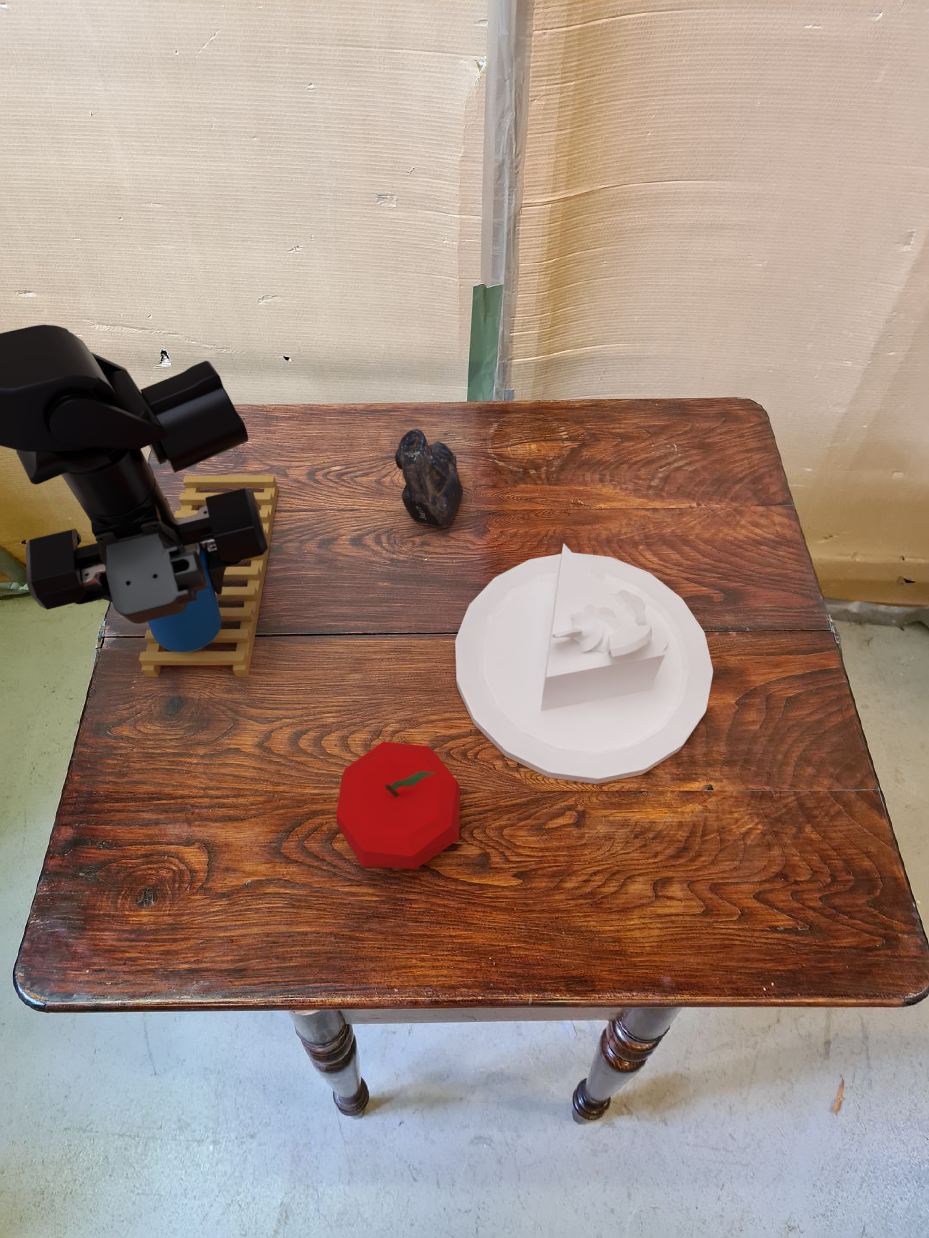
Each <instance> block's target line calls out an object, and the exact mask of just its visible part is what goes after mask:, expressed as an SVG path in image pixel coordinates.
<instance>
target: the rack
mask: <svg viewBox="0 0 929 1238" xmlns="http://www.w3.org/2000/svg"><path fill="white" fill-rule="evenodd" d="M182 483H183V485H184V487H185V490H184V492H180V493H179V498H178V501H179V503H180V510H179V509H175V513H174V517H175V519H180V518H184V517H188V516H192V515H196V514H197V512H198V510H199V509H198V507H199V506H207V504H206V499H205V497H208V496H213V495H217V494H221V493H222V492H202V489H218V488H219V489H221V488H222V489H226V488H227V489H229V488H230V489H233V488H237V489H242V488H247V489H248V488H249V489H250V488H253V489H254V488H256V489H257V488H263V491H261V492H260V491H259V492H258V491H257V492H253V491H252V492H253V493H254V496H255V498H256V501H257V504H258V506H260V509H259V512H260V516H261V521H262V525H263V529H264V533H265V537H266V541H267V545H268V549H267V550H266V552H265V553H264V554H263V555H261V556H257V557H253V558H249V559H245V560H244V561H251V563H250V566H230V567H226V570H225V572H224V578H223V581H247V586H223V587H222V594H220V595H217V594H216V598H217V601H244V603H243V607H219V611H220V615H221V622H240V624H239V625H240V626H239V628H236V629H235V628H231V629H229V628H227V629H226V628H224V629H222V628H220V630H219V632H218V634H217V636H216V637H215V638H214V639H213V640H212V641H211V642H210V643H212V644H214V643H219V644H220V643H223V644H225V643H226V644H228V643H230V644H231V643H236V648H235V651H191V652H175V651H166V648H164V647H162V646H161V645H160V644H159V643H158V642H157V641H156V640H155V639H154V637H153V635H152V632H151V629H146V631H145V635H144V639H145V641H146V642H147V646H146V648H145V649H146V650H145V651H140V655H139V658H138V661H139V663H140V664H141V672H142V673H143V674H144V675H145V677H146V678H159V677H160V674H161V673H160V672H161V669H162V666H232V671H233V673H234V676H235V677H236V678H249V677H250V671H251V664H252V658H253V652H254V645H255V639H256V632H257V627H258V621H259V615H260V607H261V602H262V597H263V589H264V583H265V578H266V571H267V565H268V559H269V554H270V552H269V551H270V547H271V542H272V541H271V540H272V533H273V530H274V529H273V528H274V522H275V515H276V511H277V504H278V497H279V491H280V490H279V486H278V483H277V480H276V476H275V475H274V474H271V475H270V474H265V475H264V474H263V475H262V474H259V475H258V474H256V475H255V474H252V475H250V474H242V475H239V474H238V475H237V474H236V475H228V474H227V475H225V474H224V475H184V478H183V481H182ZM215 593H216V592H215ZM210 643H209V644H210Z"/></svg>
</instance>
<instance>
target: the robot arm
mask: <svg viewBox="0 0 929 1238" xmlns="http://www.w3.org/2000/svg"><path fill="white" fill-rule="evenodd" d="M246 427H247V426H246V424H245V422H244V420H243V419H242V417H241V416H240V414H239V413H238V412H237V409H236V408H235V406H234V404H233V401H232V400H231V398H230V396H229V394H228V392H227V390H226V389H225V387H224V385H223V382H222V378H221V375H220V374H219V373H218V372H217V370H216V369H215V367H214V366H213V365H212V363H211V362H210V361H209V360H204V361H201V362H199V363H197V364H194V365H191V366H190V367H188V368H187V369H185V370H184V371H182V372H180V373H178V374H176V375H173V376H170V377H168V378H166V379H162V380H160V381H158V382H155V383H153V384H150V385H148V386H145V387H143V388H141V389H140V388H139V387H138V384H136V382H135V380H134V379H133V377H132V375H131V374H130V373H129V371H128V369H127V368H125V367H123V366H122V365H120V364H117V363H115V362H114V361H111V360H110V359H109V360H108V359H106V358H104V357H102V356H100V355H98V354H96V353H94V352H91V350H90V349H89V347H88V346H87V345H86V343H85V342H84V341H83V340H82V339H81V338H79V337H78V336H77V335H75V334H74V333H73V332H71V331H69V329H68V328H66V327H62V326H58V325H56V324H55V325H54V324H37V325H32V326H31V325H30V326H27V327H23V328H17V329H13V330H9V331H4V332H0V447H4V448H6V449H11V450H14V451H15V452H16V455H17V457H18V459H19V461H20V463H21V465H22V467H23V470H24V471H25V474H26V476H27V477H28V480H29V482H30V483H31V484H32V485H35V486H36V485H40V484H42V483H45V482H47V481H49V480H53V479H55V478H57V477H60V476H61V477H62V478H63V480H64V481H65V483H66V485H67V486H68V488H69V489H70V491H71V493H72V495H73V496H74V497H75V499H76V501H77V502H78V503H79V505H80V507H81V508H82V510H83V511H84V513H85V514H86V516H87V517H88V519H89V520H90V527H91V534H93V536H94V537H95V543H91V544H87V545H83V546H79V545H80V544H81V543H82V536H81V534H80V532H79V531H78V529H77V528H76V527H75V528H71V529H67V530H63V531H59V532H55V533H51V534H47V535H41V536H39V537H34V538H31V539H29V540H28V542H27V544H26V546H25V564H26V566H25V567H26V568H25V569H26V586H27V589H28V592H29V595H30V596H31V597H32V598H33V600H34V601H35V602H36V603H37V604H38V605H39V607H41V608H43V609H45V610H47V611H48V610H52V609H56V608H60V607H65V606H67V605H71V604H75V605H79V606H81V605H85V604H89V603H92V602H98V601H101V600H105V601H107V602H110V603H112V605H113V608H114V610H115V611H116V612H117V613H118V614H120V616H122V617H124V618H125V619H126V620H128V621H129V622H131V623H132V624H136V625H137V624H138V625H140V624H146V623H148V621H150V620H153V619H157V618H161V617H165V616H169V615H175V614H179V613H181V612H183V611H184V610H185V609H186V607H187V604H188V603H189V602H193V601H196V600H198V599H197V592H198V591H200V590H204V589H206V588H207V582H206V578H205V574H204V570H203V566H202V562H201V559H200V556H199V555H198V553H197V552H196V551H191V552H186V550H185V547H184V546H187V545H191V544H195V543H199V542H200V543H201V544H202V545H203V547H204V549H205V555H206V560H207V565H208V571H209V572H210V576H211V580H212V585H213V588H214V590H215V592H216V594H217V595H220V594H222V587H224V585H223V584H224V580H223V578H224V572H225V570H226V567H235V566H238V565H239V564H240V563H241V562H242V561H246V560H245V559H249V558H253V557H257V556H261V555H263V554H264V553H265V552H266V550H267V549H268V545H267V541H266V537H265V533H264V529H263V525H262V521H261V516H260V512H259V510H260V508H259V505H258V504H257V501H256V498H255V496H254V493H253V491H252V490H250V489H248V488H237V489H234V490H229V491H225V492H220V493H221V494H217V495H213V496H208V497H205V499H206V504H207V505H203V506H201V507H200V508H199V509H197V510H198V512H197V514H196V515H192V516H188V517H184V518H180V519H175V517H174V516H175V514H174V513H173V511H172V509H171V505H170V502H169V500H168V499H167V497H166V496H165V494H164V493H163V491H162V489H161V487H160V484H159V483H158V481H157V479H156V476H155V473H154V469H153V468H152V465H151V464H150V463H149V462H148V461H147V459H146V456H145V455H144V452H143V451H142V449H144V448H147V447H149V449H150V451H151V452H152V454H153V456H154V458H155V459H156V461H157V462H158V464H159V465H160V466H161V465H162V464H163V465H164V464H166V463H167V462H168V464H169V466H170V468H171V470H172V472H173V473H174V474H176V473H178V472H182V471H184V470H186V469H188V468H191V467H193V466H196V465H197V464H200V463H202V462H204V461H207V460H209V459H212V458H214V457H216V456H218V455H220V454H223V453H225V452H228V451H230V450H232V449H234V448H237V447H238V446H240V445H244V444H245V443H247V442H249V433H248V430H247V428H246Z"/></svg>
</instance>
